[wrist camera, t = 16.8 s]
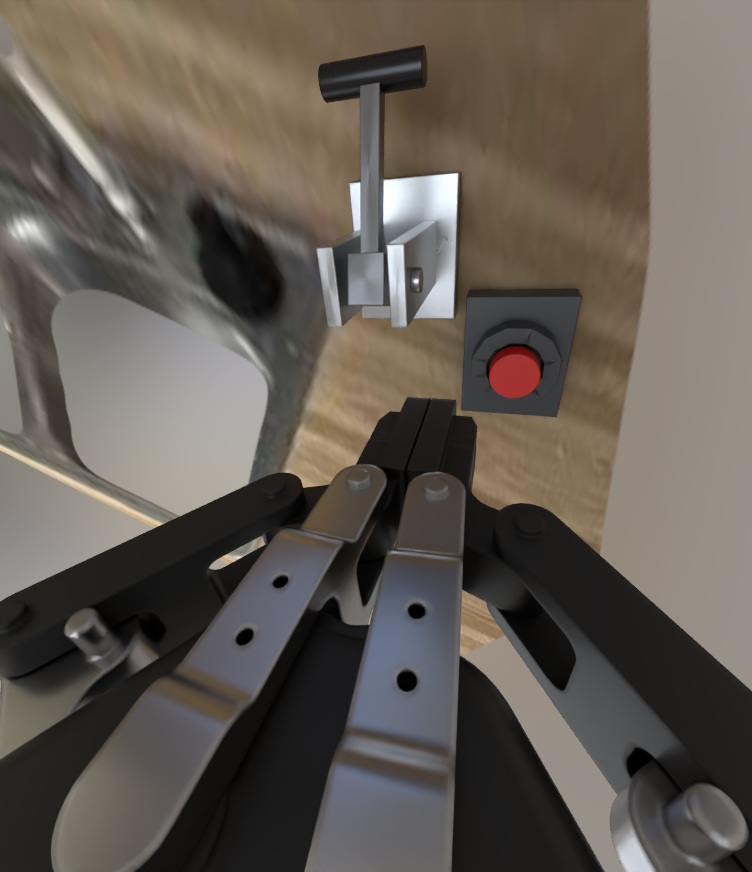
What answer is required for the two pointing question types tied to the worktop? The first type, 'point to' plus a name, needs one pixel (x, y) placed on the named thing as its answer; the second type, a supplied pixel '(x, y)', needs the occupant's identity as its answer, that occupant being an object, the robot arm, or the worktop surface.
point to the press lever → (372, 153)
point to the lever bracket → (402, 252)
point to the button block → (518, 326)
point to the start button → (514, 372)
